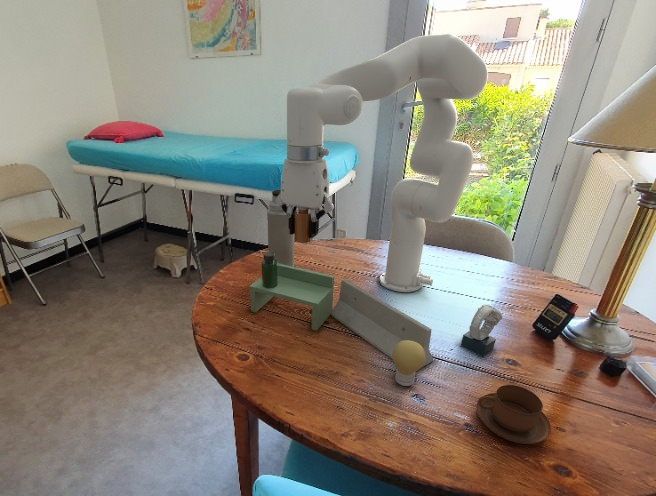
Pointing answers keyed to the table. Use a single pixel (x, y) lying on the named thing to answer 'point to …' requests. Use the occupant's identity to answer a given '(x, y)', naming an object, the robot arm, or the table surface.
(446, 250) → the table surface
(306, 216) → the amber bottle
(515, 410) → the cup and saucer
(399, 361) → the light bulb
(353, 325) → the barrier
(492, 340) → the watch
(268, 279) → the green bottle
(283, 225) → the thermos bottle
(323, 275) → the spice rack
